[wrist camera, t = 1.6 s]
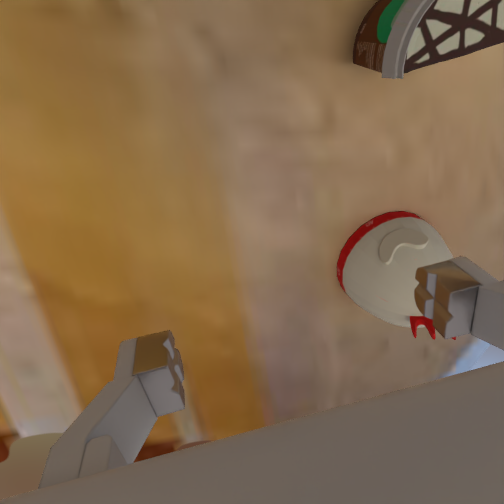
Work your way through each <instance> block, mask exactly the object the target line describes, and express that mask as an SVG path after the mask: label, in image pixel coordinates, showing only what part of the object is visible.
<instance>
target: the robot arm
mask: <svg viewBox="0 0 504 504" xmlns="http://www.w3.org/2000/svg"><path fill="white" fill-rule="evenodd" d="M415 279H416V280H417V281H418V282H419V284H418V285H417V287H416V288H415V289H414V299H415V302H416V306H417V308H418V309H419V311H420V312H421V313H422V315H423V316H424V317H427V318H429V319H432V320H433V325H432V326H433V327H434V328H435V329H436V330H437V331H438V332H439V333H440V334H441V335H442V336H443V337H444V339H449V338H453V337H457V336H461V335H465V334H470V333H471V335H473V336H475V337H477V338H479V339H481V340H483V341H486V342H488V343H490V344H492V345H494V346H496V347H498V348H500V349H502V350H504V280H503V281H498V280H497V279H495V278H494V277H492V276H491V275H490V274H488V273H487V272H486V271H484V270H483V269H481V268H480V267H479V266H477V265H476V264H475V263H473V262H472V261H470V260H469V259H468V258H466V257H463V256H459V257H456V258H452V259H449V260H446V261H443V262H439V263H435V264H431V265H427V266H423V267H419V268H417V270H416V274H415ZM183 380H184V371H183V365H182V360H181V356H180V353H179V351H178V349H176V348H175V343H174V337H173V335H172V332H171V331H170V330H167V331H163V332H159V333H154V334H150V335H145V336H141V337H138V338H133V339H129V340H125V341H122V342H121V344H120V346H119V352H118V357H117V363H116V368H115V374H114V379H113V381H111V382H108V383H107V385H106V386H105V387H104V388H103V389H102V390H101V391H100V393H99V394H98V395H97V396H96V397H95V398H94V399H93V400H92V402H91V403H90V404H89V405H88V406H87V407H86V408H85V410H84V411H83V412H82V413H81V414H80V415H79V416H78V418H77V419H76V420H75V421H74V422H73V423H72V424H71V426H70V427H69V428H68V429H67V430H66V431H65V432H64V434H63V435H62V436H61V437H60V438H59V439H58V440H57V442H56V443H55V444H54V445H53V446H52V447H51V448H50V452H49V455H48V458H47V461H46V465H45V468H44V471H43V474H42V478H41V481H40V484H39V487H38V489H37V490H34V491H30V492H26V493H23V494H19V495H15V496H12V497H8V498H5V499H1V500H0V504H504V361H503V362H500V363H496V364H492V365H489V366H485V367H482V368H478V369H475V370H471V371H467V372H463V373H460V374H456V375H452V376H449V377H445V378H441V379H438V380H434V381H430V382H427V383H423V384H419V385H416V386H412V387H408V388H405V389H401V390H397V391H394V392H390V393H386V394H383V395H379V396H375V397H372V398H368V399H365V400H361V401H357V402H354V403H350V404H346V405H343V406H339V407H336V408H332V409H328V410H325V411H321V412H317V413H314V414H310V415H307V416H303V417H299V418H296V419H292V420H288V421H285V422H281V423H277V424H274V425H270V426H267V427H263V428H259V429H256V430H252V431H248V432H245V433H241V434H237V435H234V436H230V437H227V438H223V439H219V440H216V441H212V442H208V443H205V444H201V445H197V446H194V447H190V448H187V449H183V450H179V451H176V452H172V453H168V454H165V455H161V456H157V457H154V458H150V459H147V460H143V461H139V462H136V463H133V462H134V460H135V458H136V456H137V455H138V453H139V451H140V449H141V447H142V445H143V444H144V442H145V440H146V438H147V436H148V435H149V433H150V431H151V429H152V427H153V426H154V424H155V422H156V420H157V417H159V416H162V415H166V414H169V413H172V412H176V411H179V410H182V409H185V398H184V389H183V386H182V381H183Z"/></svg>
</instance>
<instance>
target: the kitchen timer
mask: <svg viewBox="0 0 504 504" xmlns="http://www.w3.org/2000/svg"><path fill="white" fill-rule="evenodd" d="M452 258H453V256H452V254H451V252H450V251H449V249H448V247H447V246H446V244H445V242H444V241H443V239H442V237H441V236H440V234H439V233H438V232H437V231H436V229H435V228H433V227H432V226H431V225H430V224H428V223H427V222H425V221H424V220H423V219H421V218H420V217H418V216H417V215H416V214H413V213H409V212H404V211H399V212H389V213H386V214H383V215H380V216H377V217H375V218H373V219H371V220H370V221H368V222H367V223H365V224H364V225H362V226H361V227H360V228H359V229H358V230H357V231H356V232H355V233H354V234H353V235H352V236H351V237H350V238H349V239H348V241H347V243H346V244H345V246H344V247H343V249H342V251H341V254H340V257H339V260H338V263H337V277H338V280H339V282H340V285H341V287H342V288H343V290H344V291H345V292H346V293H347V295H348V296H349V297H350V298H351V299H352V300H353V301H354V302H355V303H356V304H357V305H358V306H360V307H361V308H362V309H364V310H366V311H367V312H369V313H371V314H372V315H374V316H376V317H378V318H380V319H382V320H384V321H386V322H388V323H391V324H394V325H398V326H403V327H411V329H412V333H413V335H414V337H415V338H416V329H417V328H421V327H426V328H427V329H428V331H429V333H430V335H431V337H432V338H433V339H435V328H434V327H433V326H432V325H433V320H432V319H429V318H427V317H424V316H423V315H422V313H421V312H420V311H419V309H418V308H417V306H416V302H415V299H414V289H415V288H416V287H417V285H418V284H419V282H418V281H417V280H416V279H415V274H416V270H417V268H419V267H423V266H427V265H431V264H435V263H439V262H443V261H446V260H449V259H452ZM452 339H454V340H456V337H453V338H452Z"/></svg>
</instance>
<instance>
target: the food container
mask: <svg viewBox="0 0 504 504" xmlns="http://www.w3.org/2000/svg"><path fill="white" fill-rule="evenodd" d="M503 42H504V0H379V1H378V2H377V3H376V4H375V5H374V6H373V7H372V8H371V9H370V10H369V12H368V13H367V15H366V16H365V18H364V19H363V21H362V23H361V25H360V27H359V30H358V33H357V35H356V39H355V44H354V51H353V63H354V64H357V65H360V66H363V67H366V68H369V69H372V70H375V71H378V72H381V73H382V78H392V79H395V78H400V79H403V73H408V72H410V71H412V70H415V69H418V68H421V67H425V66H428V65H431V64H435V63H438V62H442V61H446V60H449V59H453V58H457V57H460V56H464V55H467V54H470V53H473V52H475V51H478V50H481V49H484V48H487V47H490V46H493V45H496V44H500V43H503Z"/></svg>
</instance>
